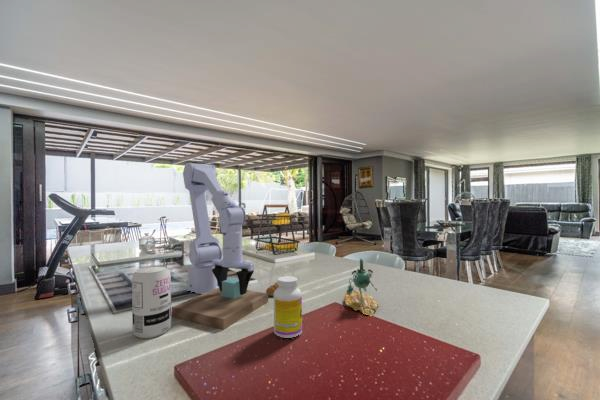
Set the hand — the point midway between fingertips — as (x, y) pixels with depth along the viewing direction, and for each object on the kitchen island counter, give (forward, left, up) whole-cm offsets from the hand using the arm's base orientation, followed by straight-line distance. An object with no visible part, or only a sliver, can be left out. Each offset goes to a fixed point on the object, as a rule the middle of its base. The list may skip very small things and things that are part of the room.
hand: (233, 292), depth 86 cm
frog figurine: (+35, +15, -4) cm, 38 cm away
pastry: (+8, +14, -4) cm, 17 cm away
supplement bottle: (+24, -10, -4) cm, 26 cm away
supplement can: (-6, -22, -4) cm, 24 cm away
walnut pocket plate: (0, -4, -3) cm, 6 cm away
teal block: (0, 0, -3) cm, 3 cm away
